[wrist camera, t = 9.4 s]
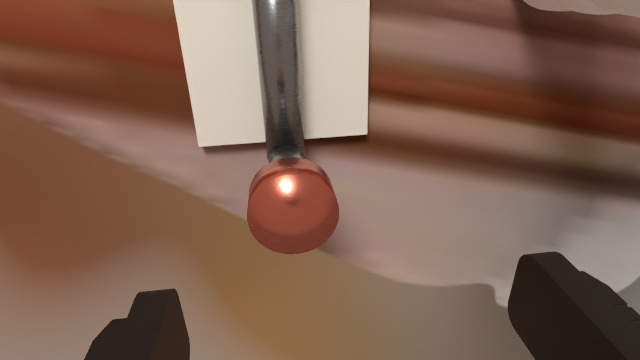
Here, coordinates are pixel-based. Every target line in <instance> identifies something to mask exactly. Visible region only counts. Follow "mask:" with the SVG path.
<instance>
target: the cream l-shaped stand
mask: <svg viewBox="0 0 640 360" xmlns="http://www.w3.org/2000/svg"><path fill="white" fill-rule="evenodd" d="M173 3H174V8H175V14H176V20H177V25H178V31H179V37H180V42H181V48H182V54H183V59H184V65H185V71H186V76H187V82H188V88H189V93H190V99H191V105H192V110H193V116H194V122H195V127H196V133H197V139H198V144H199V147H205V146H218V145H231V144H245V143H258V142H266V140H265V130H264V120H263V109H262V99H261V89H260V79H259V69H258V59H257V49H256V39H255V28H254V18H253V8H252V0H173ZM369 8H370V0H297V11H298V30H299V48H300V67H301V85H302V104H303V122H304V139H312V138H326V137H339V136H353V135H366V134H367V121H368V64H369Z"/></svg>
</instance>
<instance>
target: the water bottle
mask: <svg viewBox="0 0 640 360" xmlns="http://www.w3.org/2000/svg"><path fill="white" fill-rule="evenodd" d="M523 1H524V2H525V3H527V4H528V5H530V6H532V7H534V8H537V9H540V10H547V11H575V12H579V13H584V14H593V15H610V14H622V15H626V16H631V17H637V18H640V0H523Z"/></svg>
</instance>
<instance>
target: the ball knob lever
mask: <svg viewBox="0 0 640 360" xmlns="http://www.w3.org/2000/svg"><path fill="white" fill-rule="evenodd" d="M252 8H253V18H254V28H255V39H256V49H257V59H258V69H259V79H260V89H261V99H262V109H263V120H264V130H265V140H266V150H267V158H268V160H269V163H268V164H267V165H265V166H264V167H263V168H261V169H260V170H259V171H258V173H257V174H256V175H255V177H254V178H253V180H252V182H251V185H250V189H249V198H248V211H247V221H248V225H249V228H250V231H251V232H252V234H253V236H254V237H255V238H256V240H257V241H258V242H259V243H261V244H262V245H263V246H265V247H266V248H268V249H270V250H272V251H276V252H279V253H284V254H298V253H304V252H307V251H310V250H313V249H315V248H317V247H318V246H320V245H321V244H323V243H324V242H325V241H326V240H327V239H328V238H329V237H330V236H331V235H332V233H333V232H334V230H335V228H336V225H337V223H338V218H339V207H338V203H337V200H336V197H335V194H334V191H333V188H332V185H331V182H330V179H329V177H328V176H327V174H326V173H325V171H324V170H323V169H322V168H321V167H320V166H318V165H317V164H315V163H313V162H312V161H309V160H307V159H305V141H304V122H303V104H302V85H301V67H300V48H299V30H298V11H297V0H252Z"/></svg>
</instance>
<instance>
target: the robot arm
mask: <svg viewBox="0 0 640 360" xmlns="http://www.w3.org/2000/svg"><path fill="white" fill-rule="evenodd" d="M508 313H509V318H510V321H511V323H512V326H513V327H514V329H515V331H516V332H517V334H518V335H519V337H520V338H521V339H522V341H523V342H524V344H525V345H526V347H527V348H528V350H529V351H530V353H531V354H532V355H533V357H534V358H535V360H640V315H639V314H638V313H637V312H636V311H635V310H634V309H633V308H631V307H628V306H627V303H626V302H625V301H624V300H623V299H622V298H621V297H620V296H618V294H616V293H615V292H614V291H613V290H612V289H611V288H610V287H609V286H608V285H606V284H604V283H603V282H601V281H599V280H597V279H596V278H594V277H592V276H591V275H589V274H587V273H585V272H584V271H579V270H578V269H576V268H575V267H574V266H573V265H572V264H571V263H570V262H569V261H568V260H567V259H566V258H565V257H564V256H563V255H562V254H560V253H558V252H545V253H535V254H526V255H523V256H521V257H520V259H519V261H518V265H517V269H516V273H515V277H514V281H513V285H512V289H511V293H510V297H509V301H508ZM84 360H190V343H189V336H188V332H187V328H186V325H185V320H184V316H183V312H182V308H181V304H180V300H179V296H178V293H177V291H176V290H175V289H165V290H155V291H145V292H139V293H138V294H137V295H136V297H135V299H134V302H133V304H132V307H131V309H130V312H129V314H128V317H127V318H123V319H115V320H112V321H111V322H110V323H109V324H108V325H107V326H106V327H105V328H104V329H103V330H102V331H101V333H100V334H99V335H98V336H97V337H96V338H95V339H94V340H93V342H92V344H91V346H90V348H89V351H88V353H87V355H86V357H85V359H84Z"/></svg>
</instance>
